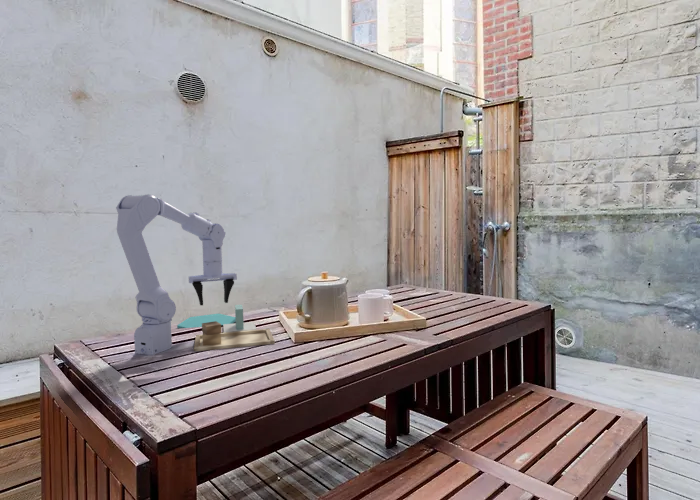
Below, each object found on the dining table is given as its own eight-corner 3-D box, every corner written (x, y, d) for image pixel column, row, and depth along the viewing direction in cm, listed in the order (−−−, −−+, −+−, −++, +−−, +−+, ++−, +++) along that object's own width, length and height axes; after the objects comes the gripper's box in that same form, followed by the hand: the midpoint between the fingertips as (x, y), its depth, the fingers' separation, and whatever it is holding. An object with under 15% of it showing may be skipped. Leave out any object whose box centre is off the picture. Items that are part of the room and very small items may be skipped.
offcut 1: (206, 335, 125) (206, 326, 125) (202, 331, 129) (201, 323, 129) (221, 332, 128) (221, 324, 127) (216, 329, 131) (216, 321, 131)
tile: (223, 338, 137) (223, 332, 137) (223, 330, 146) (223, 324, 146) (256, 335, 140) (256, 329, 139) (254, 327, 149) (254, 321, 149)
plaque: (220, 336, 144) (241, 319, 163) (220, 330, 143) (241, 313, 163) (169, 335, 145) (196, 317, 165) (169, 329, 145) (196, 312, 165)
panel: (236, 329, 139) (235, 309, 139) (235, 324, 146) (235, 305, 145) (243, 329, 140) (243, 309, 139) (242, 323, 146) (241, 304, 146)
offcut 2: (203, 345, 125) (202, 335, 125) (203, 340, 130) (203, 331, 130) (221, 344, 127) (220, 333, 127) (221, 339, 132) (220, 329, 131)
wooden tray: (194, 355, 121) (193, 348, 120) (196, 341, 134) (196, 334, 134) (274, 347, 127) (274, 340, 127) (269, 334, 140) (269, 328, 140)
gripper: (190, 263, 132) (192, 308, 133) (238, 261, 139) (239, 303, 140) (186, 261, 139) (188, 304, 140) (233, 259, 145) (234, 299, 146)
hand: (213, 303), depth 140 cm, fingers open, 7 cm apart
